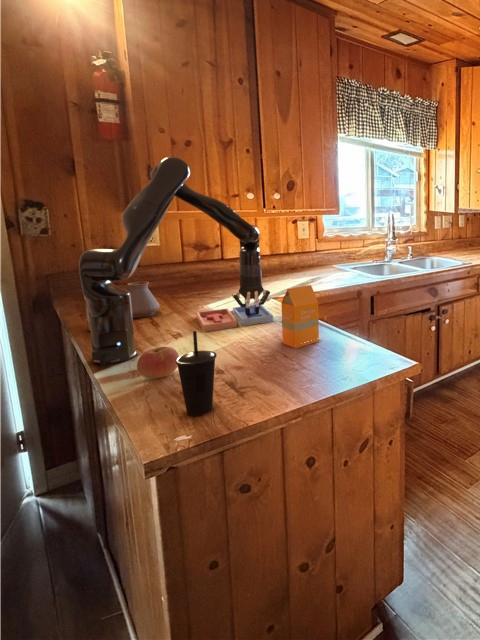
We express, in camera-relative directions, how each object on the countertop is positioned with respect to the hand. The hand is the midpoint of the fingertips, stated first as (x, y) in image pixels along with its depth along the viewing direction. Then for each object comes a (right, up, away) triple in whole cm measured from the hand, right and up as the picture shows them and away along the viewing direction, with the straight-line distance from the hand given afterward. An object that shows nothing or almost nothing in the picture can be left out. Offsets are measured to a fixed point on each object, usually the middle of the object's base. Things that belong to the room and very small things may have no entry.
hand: (252, 315), depth 166 cm
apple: (+8, -9, -53) cm, 54 cm away
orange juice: (+32, -6, -23) cm, 40 cm away
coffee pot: (-45, +1, -7) cm, 46 cm away
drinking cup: (+31, -13, -68) cm, 76 cm away
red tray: (-9, -1, -8) cm, 12 cm away
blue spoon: (0, 0, 0) cm, 0 cm away
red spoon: (-9, -1, -8) cm, 12 cm away
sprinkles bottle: (-42, -2, -22) cm, 47 cm away
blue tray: (0, -1, 0) cm, 1 cm away
